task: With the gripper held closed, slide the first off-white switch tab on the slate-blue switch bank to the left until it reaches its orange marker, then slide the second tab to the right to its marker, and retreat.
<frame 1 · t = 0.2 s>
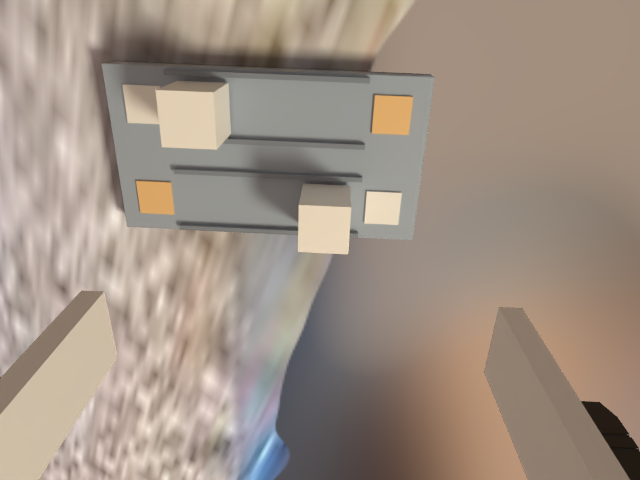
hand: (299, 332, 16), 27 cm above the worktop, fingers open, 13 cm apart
tab a: (196, 113, 35), point 5 cm above the worktop, slide at -5.0 cm
tab b: (324, 217, 39), point 5 cm above the worktop, slide at 5.0 cm
switch bank: (271, 151, 41), on the worktop
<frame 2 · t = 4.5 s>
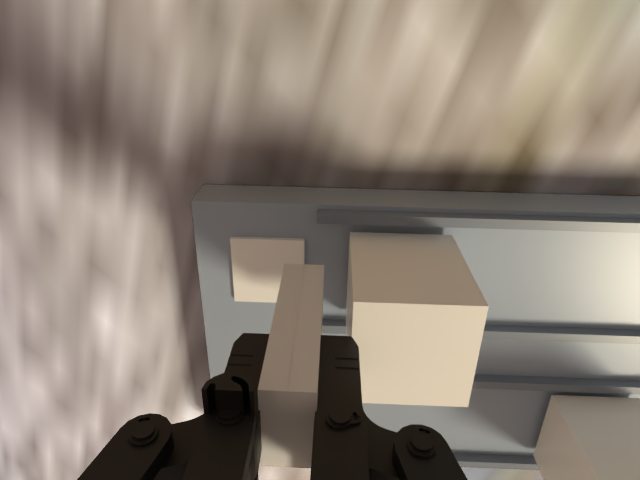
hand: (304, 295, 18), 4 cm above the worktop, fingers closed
tab a: (403, 312, 17), point 5 cm above the worktop, slide at -4.7 cm, touching gripper
tab b: (611, 473, 20), point 5 cm above the worktop, slide at 5.0 cm
switch bank: (479, 327, 23), on the worktop
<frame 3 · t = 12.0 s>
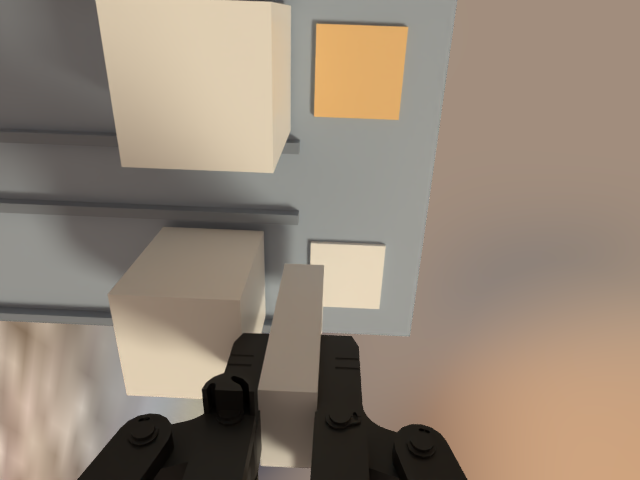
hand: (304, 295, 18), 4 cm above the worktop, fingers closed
tab a: (214, 78, 14), point 5 cm above the worktop, slide at 5.7 cm
tab b: (200, 306, 17), point 5 cm above the worktop, slide at 4.6 cm, touching gripper
switch bank: (114, 158, 20), on the worktop
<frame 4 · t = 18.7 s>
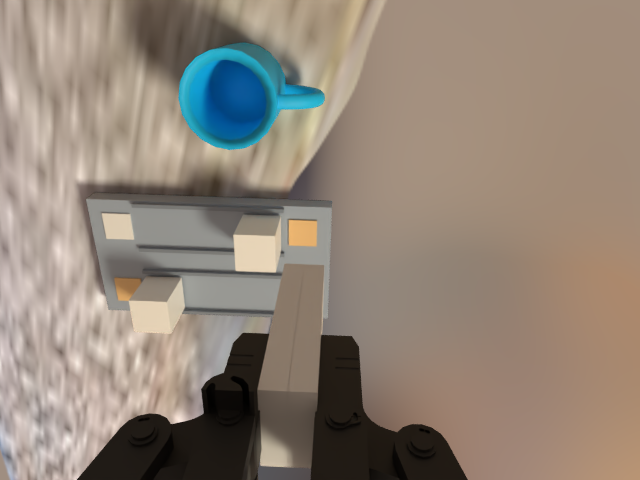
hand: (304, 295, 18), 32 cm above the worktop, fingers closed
tab a: (258, 242, 48), point 5 cm above the worktop, slide at 5.7 cm
mug: (265, 88, 46), on the worktop
tab b: (158, 304, 52), point 5 cm above the worktop, slide at -5.7 cm
switch bank: (217, 253, 54), on the worktop
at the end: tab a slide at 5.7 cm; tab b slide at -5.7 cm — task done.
